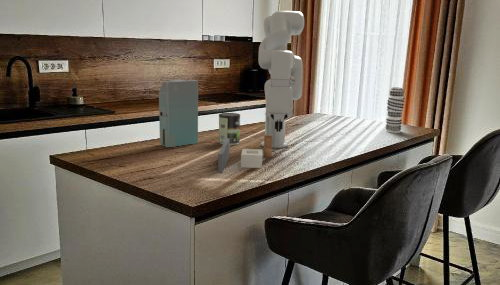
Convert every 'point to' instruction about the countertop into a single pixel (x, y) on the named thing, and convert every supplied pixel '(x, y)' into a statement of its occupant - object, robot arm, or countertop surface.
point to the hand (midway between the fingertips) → (278, 131)
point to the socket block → (251, 158)
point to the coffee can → (229, 128)
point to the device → (178, 113)
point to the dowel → (267, 146)
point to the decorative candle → (395, 110)
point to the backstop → (223, 155)
